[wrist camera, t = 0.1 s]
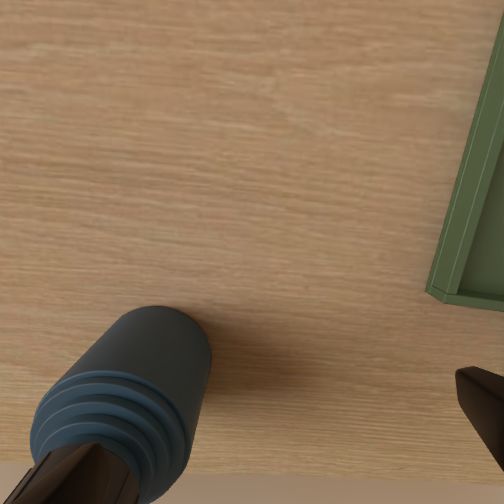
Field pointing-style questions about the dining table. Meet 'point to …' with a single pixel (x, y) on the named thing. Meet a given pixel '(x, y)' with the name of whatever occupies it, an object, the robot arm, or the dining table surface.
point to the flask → (133, 397)
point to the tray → (477, 206)
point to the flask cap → (122, 477)
